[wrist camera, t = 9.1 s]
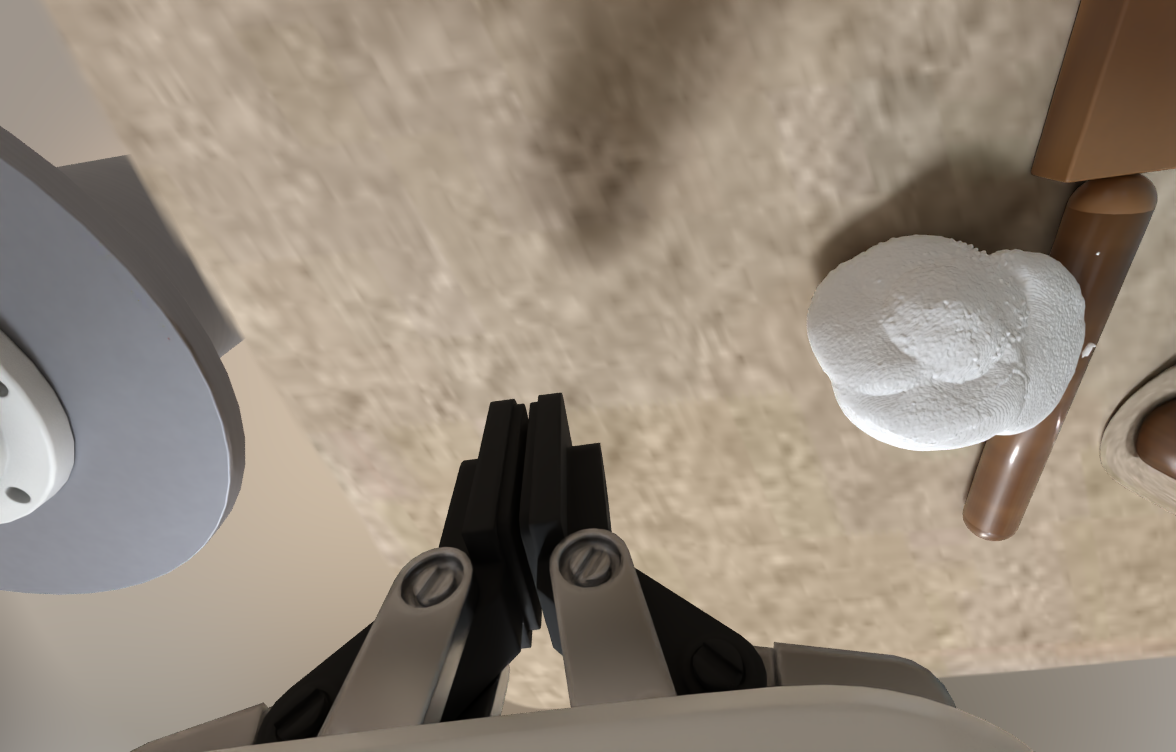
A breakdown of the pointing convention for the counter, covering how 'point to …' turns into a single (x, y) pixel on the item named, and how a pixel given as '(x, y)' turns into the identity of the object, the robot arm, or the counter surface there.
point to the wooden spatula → (1091, 206)
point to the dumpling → (947, 340)
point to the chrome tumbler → (1145, 442)
